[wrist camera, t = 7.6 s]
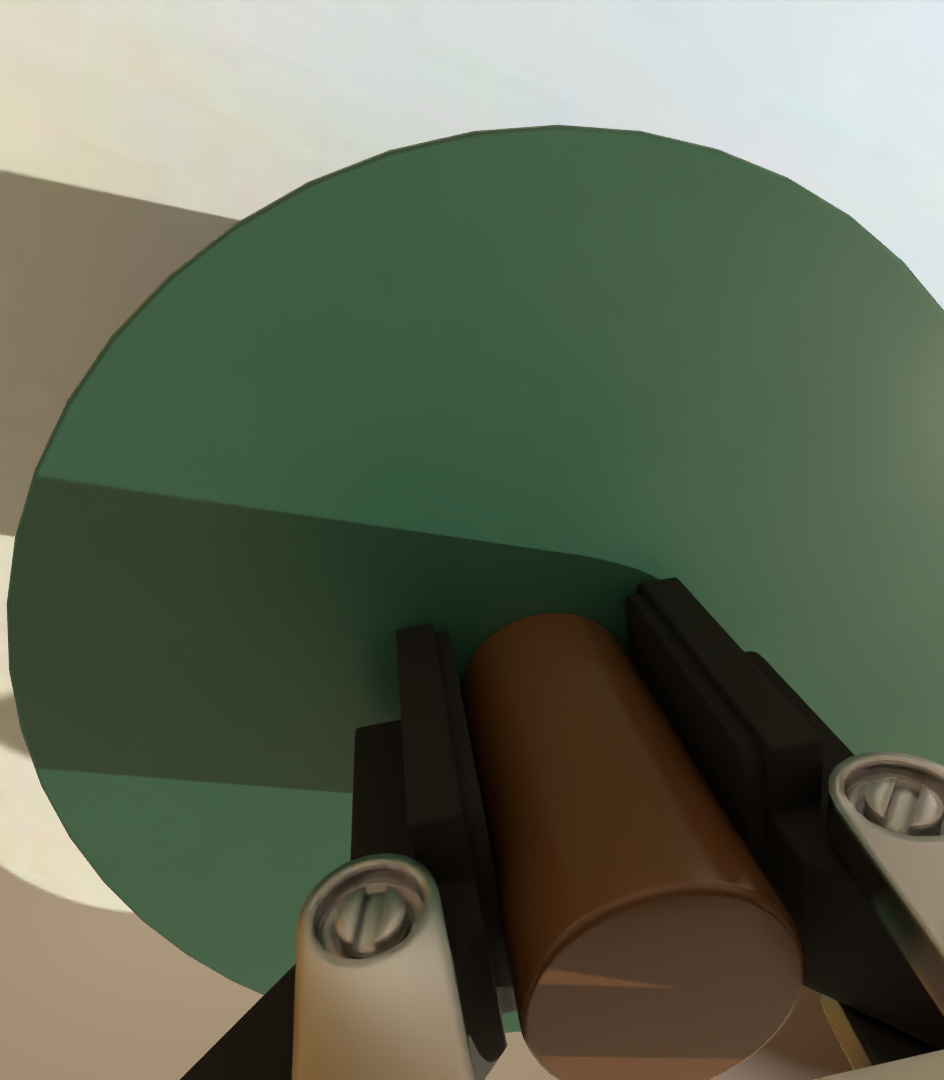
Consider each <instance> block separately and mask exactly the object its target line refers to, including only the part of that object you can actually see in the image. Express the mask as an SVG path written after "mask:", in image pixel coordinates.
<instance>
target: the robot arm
mask: <svg viewBox="0 0 944 1080" xmlns="http://www.w3.org/2000/svg"><path fill="white" fill-rule="evenodd" d="M625 609H626V622H627V635H628V648H629V657H630V658H631V660H632V662H633V663H634V665H635V666H636V668H637V670H638V671H639V673H640V674H641V676H642V678H643V679H644V681H645V683H646V684H647V686H648V687H649V689H650V691H651V692H652V694H653V695H654V697H655V699H656V700H657V702H658V704H659V705H660V707H661V708H662V710H663V712H664V713H665V715H666V716H667V718H668V720H669V721H670V723H671V725H672V726H673V728H674V729H675V731H676V733H677V734H678V736H679V737H680V739H681V741H682V742H683V744H684V746H685V747H686V749H687V750H688V752H689V754H690V755H691V757H692V759H693V760H694V762H695V763H696V765H697V767H698V768H699V770H700V771H701V773H702V775H703V776H704V778H705V780H706V781H707V783H708V784H709V786H710V788H711V789H712V791H713V792H714V794H715V796H716V797H717V799H718V801H719V802H720V804H721V805H722V807H723V809H724V810H725V812H726V813H727V815H728V817H729V818H730V820H731V822H732V823H733V825H734V826H735V828H736V830H737V831H738V833H739V834H740V836H741V838H742V839H743V841H744V843H745V844H746V846H747V847H748V849H749V851H750V852H751V854H752V855H753V857H754V859H755V860H756V862H757V864H758V865H759V867H760V868H761V870H762V872H763V873H764V875H765V876H766V878H767V880H768V881H769V883H770V885H771V886H772V888H773V889H774V891H775V893H776V894H777V896H778V897H779V899H780V901H781V902H782V904H783V906H784V907H785V909H786V910H787V912H788V914H789V915H790V917H791V918H792V920H793V922H794V923H795V925H796V927H797V929H798V932H799V934H800V936H801V939H802V943H803V947H804V953H805V967H806V969H805V977H804V983H803V985H804V986H807V987H809V988H811V989H813V990H815V991H817V992H819V993H820V1000H821V1003H822V1006H823V1009H824V1012H825V1015H826V1017H827V1019H828V1020H829V1023H830V1024H831V1027H832V1028H833V1030H834V1032H835V1034H836V1036H837V1038H838V1040H839V1042H840V1044H841V1046H842V1048H843V1050H844V1052H845V1054H846V1056H847V1058H848V1060H849V1061H850V1064H851V1066H852V1067H853V1071H849V1072H844V1073H840V1074H835V1075H831V1076H827V1077H823V1078H818V1079H814V1080H944V766H942V765H940V764H938V763H936V762H934V761H932V760H928V759H925V758H922V757H919V756H915V755H912V754H906V753H899V752H891V751H880V752H865V753H862V754H858V755H854V754H853V753H852V752H851V751H850V749H849V748H848V747H847V746H846V745H845V744H844V743H843V742H842V741H841V740H840V739H839V738H838V737H837V736H836V735H835V733H834V732H833V731H832V730H831V729H830V728H829V727H828V726H827V725H826V724H825V723H824V722H823V721H822V720H821V719H820V717H819V716H818V715H817V714H816V713H815V712H814V711H813V710H812V709H811V708H810V707H809V706H808V705H807V704H806V703H805V701H804V700H803V699H802V698H801V697H800V696H799V695H798V694H797V693H796V692H795V691H794V690H793V689H792V688H791V687H790V685H789V684H788V683H787V682H786V681H785V680H784V679H783V678H782V677H781V676H780V675H779V674H778V673H777V672H776V671H775V669H774V668H773V667H772V666H771V665H770V664H769V663H768V662H767V661H766V660H765V659H764V658H763V657H762V656H761V655H760V654H758V653H757V652H755V651H746V652H744V651H743V650H742V649H741V648H740V646H739V645H738V644H737V643H736V642H735V641H734V640H733V639H732V638H731V637H730V635H729V634H728V633H727V632H726V631H725V630H724V629H723V628H722V627H721V625H720V624H719V623H718V622H717V621H716V620H715V619H714V618H713V617H712V615H711V614H710V613H709V612H708V611H707V610H706V609H705V608H704V607H703V606H702V604H701V603H700V602H699V601H698V600H697V599H696V598H695V597H694V596H693V594H692V593H691V592H690V591H689V590H688V589H687V588H686V587H685V586H684V585H683V583H682V582H681V581H680V580H679V579H678V578H676V577H673V578H667V579H662V580H657V581H652V582H646V583H641V584H638V586H637V589H636V594H634V595H629V596H627V597H626V600H625ZM396 642H397V659H398V675H399V692H400V709H401V719H400V720H395V721H390V722H385V723H380V724H375V725H370V726H365V727H359V728H357V729H356V731H355V746H354V774H353V802H352V830H351V858H350V861H349V862H347V863H344V864H343V865H341V866H340V867H338V868H337V869H335V870H334V871H332V872H330V873H329V874H327V875H326V876H325V877H324V878H323V879H322V880H321V881H320V882H319V883H318V884H317V885H316V886H315V887H314V888H313V889H312V890H311V892H310V894H309V895H308V897H307V899H306V901H305V903H304V904H303V906H302V908H301V911H300V916H299V920H298V925H297V942H296V964H295V965H294V966H293V967H292V968H291V969H290V970H289V971H288V972H287V973H286V974H285V975H284V976H283V977H282V978H281V979H280V980H279V981H278V982H277V983H276V984H275V985H274V986H273V987H272V988H271V989H270V990H269V991H268V992H267V993H266V994H265V995H264V996H263V997H262V998H261V999H260V1000H259V1001H258V1002H257V1003H256V1004H255V1005H254V1006H253V1007H252V1008H251V1009H250V1010H249V1011H248V1012H247V1013H246V1014H245V1015H244V1016H243V1017H242V1018H241V1019H240V1020H239V1021H238V1022H237V1023H236V1024H235V1025H234V1026H233V1027H232V1028H231V1029H230V1030H229V1031H228V1032H227V1033H226V1034H225V1035H224V1036H223V1037H222V1038H221V1039H220V1040H219V1041H218V1042H217V1043H216V1044H215V1045H214V1046H213V1047H212V1048H211V1049H210V1050H209V1051H208V1052H207V1053H206V1054H205V1055H204V1056H203V1057H202V1058H201V1059H200V1060H199V1061H198V1062H197V1063H196V1064H195V1065H194V1066H193V1067H192V1068H191V1069H190V1070H189V1071H188V1072H187V1073H186V1074H185V1075H184V1076H183V1077H182V1078H181V1079H180V1080H484V1079H485V1078H486V1076H487V1075H488V1074H489V1072H490V1071H491V1069H492V1068H493V1066H494V1065H495V1063H496V1062H497V1060H498V1059H499V1057H500V1056H501V1054H502V1053H503V1051H504V1050H505V1048H506V1047H507V1043H506V1037H505V1031H504V1025H503V1019H502V1014H506V1013H511V1012H515V1011H517V1008H516V1003H515V997H514V992H513V987H512V981H511V976H510V971H509V965H508V960H507V955H506V949H505V944H504V939H503V933H502V928H501V921H500V898H499V892H498V887H497V881H496V876H495V870H494V865H493V859H492V853H491V848H490V842H489V837H488V831H487V826H486V820H485V815H484V809H483V804H482V799H481V794H480V788H479V783H478V778H477V773H476V768H475V763H474V758H473V753H472V748H471V742H470V737H469V732H468V727H467V722H466V717H465V712H464V707H463V702H462V696H461V691H460V686H459V681H458V676H457V671H456V666H455V661H454V656H453V650H452V645H451V640H450V635H449V630H445V631H440V632H435V633H434V628H433V624H432V623H430V624H425V625H419V626H414V627H409V628H404V629H398V630H396Z"/></svg>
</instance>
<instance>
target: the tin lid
mask: <svg viewBox="0 0 944 1080" xmlns="http://www.w3.org/2000/svg"><path fill="white" fill-rule="evenodd" d="M673 577H676V578H678V579H679V580H680V581H681V582H682V583H683V585H684V586H685V587H686V588H687V589H688V590H689V591H690V592H691V593H692V594H693V596H694V597H695V598H696V599H697V600H698V601H699V602H700V603H701V604H702V606H703V607H704V608H705V609H706V610H707V611H708V612H709V613H710V614H711V615H712V617H713V618H714V619H715V620H716V621H717V622H718V623H719V624H720V625H721V627H722V628H723V629H724V630H725V631H726V632H727V633H728V634H729V635H730V637H731V638H732V639H733V640H734V641H735V642H736V643H737V644H738V645H739V646H740V648H741V649H742V650H743V651H744V652H746V651H755V652H757V653H758V654H760V655H761V656H762V657H763V658H764V659H765V660H766V661H767V662H768V663H769V664H770V665H771V666H772V667H773V668H774V669H775V671H776V672H777V673H778V674H779V675H780V676H781V677H782V678H783V679H784V680H785V681H786V682H787V683H788V684H789V685H790V687H791V688H792V689H793V690H794V691H795V692H796V693H797V694H798V695H799V696H800V697H801V698H802V699H803V700H804V701H805V703H806V704H807V705H808V706H809V707H810V708H811V709H812V710H813V711H814V712H815V713H816V714H817V715H818V716H819V717H820V719H821V720H822V721H823V722H824V723H825V724H826V725H827V726H828V727H829V728H830V729H831V730H832V731H833V732H834V733H835V735H836V736H837V737H838V738H839V739H840V740H841V741H842V742H843V743H844V744H845V745H846V746H847V747H848V748H849V749H850V751H851V752H852V753H853V754H854V755H858V754H862V753H865V752H880V751H891V752H899V753H906V754H912V755H915V756H919V757H922V758H925V759H928V760H932V761H934V762H936V763H938V764H940V765H942V766H944V310H943V309H942V308H941V307H940V306H939V304H938V303H937V302H936V301H935V299H934V298H933V297H932V296H931V295H930V293H929V292H928V291H927V290H926V289H925V287H924V286H923V285H922V284H921V283H920V281H919V280H918V279H917V278H916V277H915V275H914V274H913V273H912V272H911V271H910V269H909V268H908V267H907V266H906V265H905V263H904V262H903V261H902V260H901V259H899V258H898V257H897V256H896V255H895V254H894V253H893V252H891V251H890V250H889V249H888V248H887V247H886V246H884V245H883V244H882V243H881V242H880V241H879V240H877V239H876V238H875V237H874V236H873V235H872V234H871V233H869V232H868V231H867V230H866V229H865V228H864V227H862V226H861V225H860V224H859V223H858V222H857V221H855V220H854V219H853V218H852V217H851V216H850V215H848V214H846V213H845V212H843V211H841V210H840V209H838V208H836V207H835V206H833V205H832V204H830V203H828V202H827V201H825V200H823V199H822V198H820V197H818V196H817V195H815V194H814V193H812V192H810V191H809V190H807V189H805V188H804V187H802V186H801V185H799V184H797V183H796V182H794V181H792V180H791V179H789V178H787V177H785V176H782V175H780V174H777V173H775V172H772V171H770V170H767V169H765V168H763V167H760V166H758V165H755V164H753V163H750V162H748V161H745V160H743V159H741V158H738V157H736V156H733V155H731V154H728V153H726V152H723V151H721V150H718V149H715V148H711V147H706V146H702V145H698V144H693V143H689V142H685V141H681V140H676V139H672V138H668V137H663V136H659V135H655V134H651V133H646V132H642V131H633V130H620V129H606V128H593V127H580V126H567V125H549V126H536V127H523V128H510V129H496V130H483V131H472V132H468V133H463V134H459V135H455V136H450V137H446V138H441V139H437V140H433V141H428V142H424V143H420V144H415V145H411V146H406V147H402V148H398V149H393V150H389V151H386V152H384V153H381V154H379V155H376V156H374V157H371V158H368V159H366V160H363V161H361V162H358V163H356V164H353V165H351V166H348V167H345V168H343V169H340V170H338V171H335V172H333V173H330V174H327V175H325V176H322V177H320V178H317V179H315V180H312V181H310V182H307V183H306V184H304V185H302V186H300V187H299V188H297V189H295V190H293V191H292V192H290V193H288V194H286V195H285V196H283V197H281V198H279V199H278V200H276V201H274V202H272V203H271V204H269V205H267V206H265V207H264V208H262V209H260V210H258V211H257V212H255V213H253V214H251V215H250V216H248V217H246V218H244V219H243V220H241V221H239V222H237V223H236V224H234V225H233V226H231V227H230V228H229V229H227V230H226V231H225V232H224V233H222V234H221V235H220V236H219V237H217V238H216V239H215V240H213V241H212V242H211V243H210V244H208V245H207V246H206V247H205V248H203V249H202V250H201V251H199V252H198V253H197V254H196V255H194V256H193V257H192V258H191V259H189V260H188V261H187V262H186V263H184V264H183V265H182V266H180V267H179V268H178V269H177V270H175V271H174V272H173V273H172V274H170V275H169V276H168V277H167V278H166V279H165V280H164V281H163V282H162V283H161V284H160V285H159V286H158V287H157V288H156V290H155V291H154V292H153V293H152V294H151V295H150V296H149V297H148V298H147V299H146V300H145V301H144V302H143V303H142V304H141V305H140V307H139V308H138V309H137V310H136V311H135V312H134V313H133V314H132V315H131V316H130V317H129V318H128V319H127V320H126V321H125V323H124V324H123V325H122V326H121V327H120V328H119V329H118V330H117V331H116V332H115V333H114V334H113V335H112V337H111V338H110V339H109V341H108V342H107V344H106V345H105V347H104V348H103V350H102V351H101V353H100V354H99V355H98V357H97V358H96V360H95V361H94V363H93V364H92V366H91V367H90V369H89V370H88V372H87V373H86V374H85V376H84V377H83V379H82V380H81V382H80V383H79V385H78V386H77V388H76V389H75V391H74V392H73V393H72V395H71V396H70V398H69V399H68V401H67V403H66V405H65V407H64V409H63V411H62V413H61V415H60V418H59V420H58V422H57V424H56V426H55V428H54V430H53V432H52V434H51V436H50V439H49V441H48V443H47V445H46V447H45V449H44V451H43V453H42V455H41V457H40V460H39V462H38V464H37V466H36V468H35V471H34V475H33V478H32V481H31V485H30V488H29V492H28V495H27V498H26V502H25V505H24V509H23V512H22V515H21V519H20V522H19V526H18V529H17V532H16V536H15V543H14V551H13V559H12V567H11V575H10V583H9V591H8V599H7V622H8V650H9V672H10V677H11V682H12V687H13V692H14V697H15V702H16V707H17V712H18V717H19V722H20V727H21V731H22V734H23V737H24V740H25V742H26V745H27V748H28V750H29V753H30V756H31V759H32V761H33V764H34V767H35V770H36V772H37V775H38V778H39V780H40V783H41V786H42V788H43V790H44V792H45V793H46V795H47V797H48V799H49V801H50V802H51V804H52V806H53V808H54V810H55V811H56V813H57V815H58V817H59V819H60V821H61V822H62V824H63V826H64V828H65V830H66V831H67V833H68V835H69V837H70V838H71V840H72V841H73V842H74V844H75V845H76V846H77V848H78V849H79V850H80V851H81V853H82V854H83V855H84V857H85V858H86V859H87V861H88V862H89V863H90V865H91V866H92V867H93V869H94V870H95V871H96V873H97V874H98V875H99V876H100V878H101V879H102V880H103V882H104V883H105V884H106V885H107V886H108V887H109V888H110V889H111V890H112V891H113V892H114V893H115V894H116V895H117V896H118V897H119V898H120V899H121V900H122V901H123V902H124V903H125V904H126V905H127V906H128V907H129V908H130V909H131V910H132V911H133V912H134V913H135V914H136V915H137V916H138V917H139V918H140V919H141V920H142V921H143V922H145V923H146V924H147V925H149V926H150V927H151V928H153V929H154V930H156V931H157V932H158V933H159V934H161V935H162V936H163V937H164V938H166V939H167V940H168V941H170V942H171V943H172V944H174V945H175V946H176V947H177V948H179V949H180V950H181V951H183V952H184V953H185V954H187V955H188V956H190V957H192V958H194V959H195V960H197V961H199V962H200V963H202V964H204V965H206V966H207V967H209V968H211V969H212V970H214V971H216V972H217V973H220V974H221V975H223V976H224V977H226V978H228V979H230V980H231V981H233V982H235V983H238V984H240V985H242V986H244V987H247V988H249V989H251V990H254V991H256V992H258V993H260V994H263V995H265V994H266V993H267V992H268V991H269V990H270V989H271V988H272V987H273V986H274V985H275V984H276V983H277V982H278V981H279V980H280V979H281V978H282V977H283V976H284V975H285V974H286V973H287V972H288V971H289V970H290V969H291V968H292V967H293V966H294V965H295V964H296V942H297V925H298V920H299V916H300V911H301V908H302V906H303V904H304V903H305V901H306V899H307V897H308V895H309V894H310V892H311V890H312V889H313V888H314V887H315V886H316V885H317V884H318V883H319V882H320V881H321V880H322V879H323V878H324V877H325V876H326V875H327V874H329V873H330V872H332V871H334V870H335V869H337V868H338V867H340V866H341V865H343V864H344V863H347V862H349V861H350V858H351V830H352V802H353V774H354V746H355V731H356V729H357V728H359V727H365V726H370V725H375V724H380V723H385V722H390V721H395V720H400V719H401V709H400V692H399V675H398V659H397V642H396V630H398V629H404V628H409V627H414V626H419V625H425V624H430V623H432V624H433V628H434V633H435V632H440V631H445V630H449V635H450V640H451V645H452V650H453V656H454V661H455V666H456V671H457V676H458V681H459V686H460V691H461V696H462V702H463V707H464V712H465V717H466V722H467V727H468V732H469V737H470V742H471V748H472V753H473V758H474V763H475V768H476V773H477V778H478V783H479V788H480V794H481V799H482V804H483V809H484V815H485V820H486V826H487V831H488V837H489V842H490V848H491V853H492V859H493V865H494V870H495V876H496V881H497V887H498V892H499V898H500V921H501V928H502V933H503V939H504V944H505V949H506V955H507V960H508V965H509V971H510V976H511V981H512V987H513V992H514V997H515V1003H516V1008H517V1011H515V1012H511V1013H506V1014H502V1019H503V1025H504V1031H505V1033H508V1032H520V1031H521V1032H522V1035H523V1038H524V1040H525V1042H526V1044H527V1046H528V1048H529V1050H530V1051H531V1053H532V1054H533V1056H534V1057H535V1058H536V1060H537V1061H538V1062H539V1064H540V1065H541V1066H542V1067H543V1068H544V1069H546V1070H547V1071H548V1072H549V1073H550V1074H551V1075H553V1076H554V1077H556V1078H557V1079H559V1080H710V1079H713V1078H715V1077H717V1076H719V1075H721V1074H723V1073H725V1072H727V1071H729V1070H730V1069H732V1068H734V1067H736V1066H737V1065H739V1064H740V1063H742V1062H743V1061H745V1060H746V1059H748V1058H749V1057H750V1056H752V1055H753V1054H754V1053H756V1052H757V1051H758V1050H759V1049H760V1048H762V1047H763V1046H764V1045H765V1044H766V1043H767V1042H768V1041H769V1040H770V1039H771V1038H772V1037H773V1036H774V1035H775V1034H776V1033H777V1032H778V1031H779V1029H780V1028H781V1027H782V1026H783V1024H784V1023H785V1022H786V1020H787V1019H788V1017H789V1016H790V1014H791V1012H792V1011H793V1009H794V1007H795V1005H796V1003H797V1000H798V998H799V996H800V993H801V990H802V987H803V983H804V977H805V969H806V967H805V953H804V947H803V943H802V939H801V936H800V934H799V932H798V929H797V927H796V925H795V923H794V922H793V920H792V918H791V917H790V915H789V914H788V912H787V910H786V909H785V907H784V906H783V904H782V902H781V901H780V899H779V897H778V896H777V894H776V893H775V891H774V889H773V888H772V886H771V885H770V883H769V881H768V880H767V878H766V876H765V875H764V873H763V872H762V870H761V868H760V867H759V865H758V864H757V862H756V860H755V859H754V857H753V855H752V854H751V852H750V851H749V849H748V847H747V846H746V844H745V843H744V841H743V839H742V838H741V836H740V834H739V833H738V831H737V830H736V828H735V826H734V825H733V823H732V822H731V820H730V818H729V817H728V815H727V813H726V812H725V810H724V809H723V807H722V805H721V804H720V802H719V801H718V799H717V797H716V796H715V794H714V792H713V791H712V789H711V788H710V786H709V784H708V783H707V781H706V780H705V778H704V776H703V775H702V773H701V771H700V770H699V768H698V767H697V765H696V763H695V762H694V760H693V759H692V757H691V755H690V754H689V752H688V750H687V749H686V747H685V746H684V744H683V742H682V741H681V739H680V737H679V736H678V734H677V733H676V731H675V729H674V728H673V726H672V725H671V723H670V721H669V720H668V718H667V716H666V715H665V713H664V712H663V710H662V708H661V707H660V705H659V704H658V702H657V700H656V699H655V697H654V695H653V694H652V692H651V691H650V689H649V687H648V686H647V684H646V683H645V681H644V679H643V678H642V676H641V674H640V673H639V671H638V670H637V668H636V666H635V665H634V663H633V662H632V660H631V658H630V657H629V648H628V635H627V622H626V609H625V600H626V597H627V596H629V595H634V594H636V589H637V586H638V584H641V583H646V582H652V581H657V580H662V579H667V578H673Z"/></svg>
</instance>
